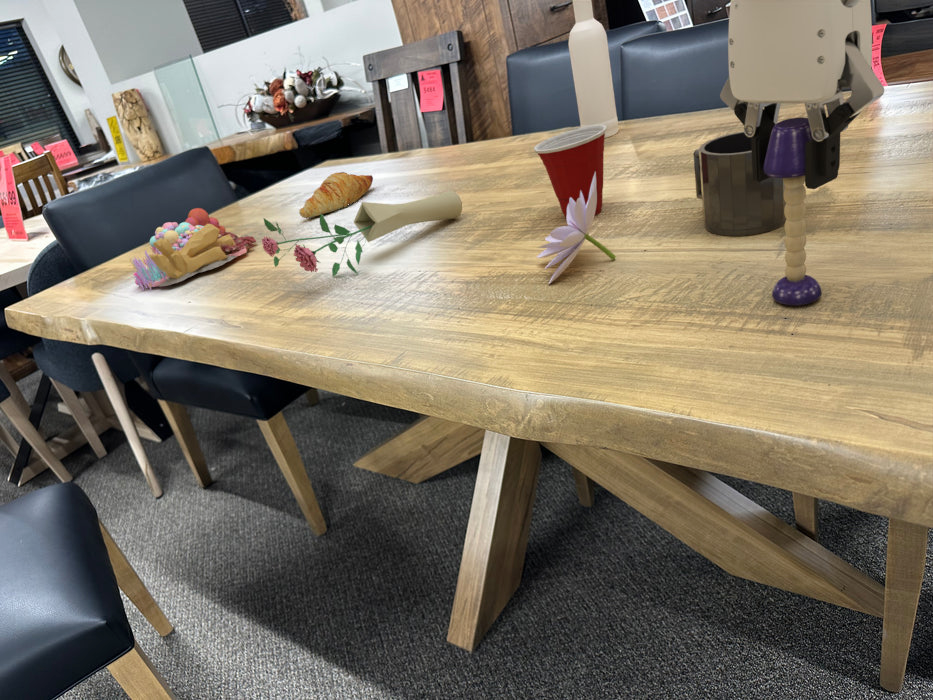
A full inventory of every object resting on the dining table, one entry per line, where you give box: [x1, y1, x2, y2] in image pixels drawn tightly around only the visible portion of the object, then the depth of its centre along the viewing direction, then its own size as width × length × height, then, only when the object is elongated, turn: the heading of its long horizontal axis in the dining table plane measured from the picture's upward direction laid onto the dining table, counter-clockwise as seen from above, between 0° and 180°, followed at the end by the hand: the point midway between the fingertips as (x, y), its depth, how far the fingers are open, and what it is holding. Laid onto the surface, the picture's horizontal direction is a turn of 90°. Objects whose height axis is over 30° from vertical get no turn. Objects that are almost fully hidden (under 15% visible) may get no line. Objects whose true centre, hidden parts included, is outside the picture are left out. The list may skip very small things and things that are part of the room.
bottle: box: [568, 0, 620, 139], centre depth 133 cm, size 8×8×30 cm
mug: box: [692, 130, 786, 237], centre depth 79 cm, size 13×10×10 cm
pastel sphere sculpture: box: [129, 207, 257, 291], centre depth 125 cm, size 25×24×9 cm
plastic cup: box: [533, 125, 607, 218], centre depth 95 cm, size 11×11×12 cm
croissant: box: [298, 171, 374, 219], centre depth 141 cm, size 21×10×8 cm, turn 141°
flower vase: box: [261, 190, 463, 277], centre depth 101 cm, size 12×12×35 cm
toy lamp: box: [764, 116, 823, 306], centre depth 57 cm, size 5×5×17 cm
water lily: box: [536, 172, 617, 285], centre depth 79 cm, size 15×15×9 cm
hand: (793, 177), depth 56 cm, fingers closed on toy lamp, 4 cm apart
